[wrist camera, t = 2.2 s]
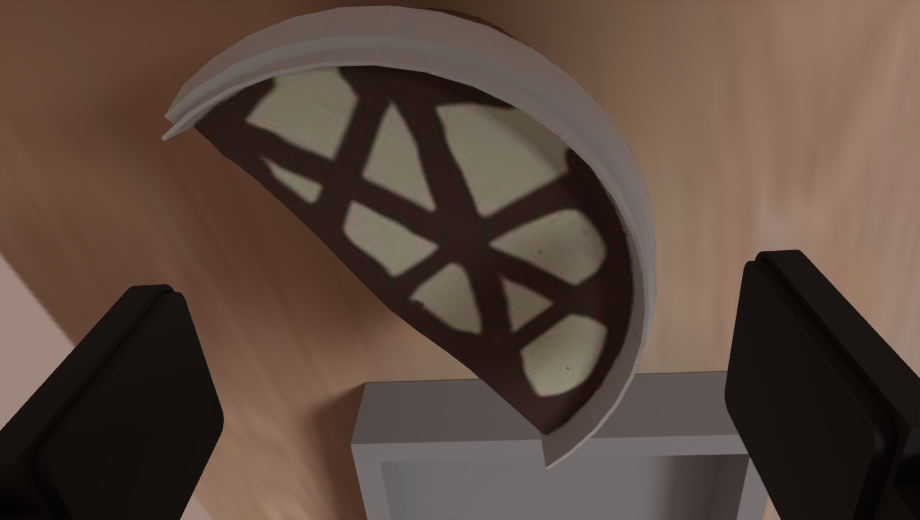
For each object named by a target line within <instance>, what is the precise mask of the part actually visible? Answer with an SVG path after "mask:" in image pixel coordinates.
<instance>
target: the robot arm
mask: <svg viewBox="0 0 920 520" xmlns="http://www.w3.org/2000/svg"><path fill="white" fill-rule="evenodd" d="M724 394H725V404H726V408H727V411H728V413H729V415H730V418H731V420H732V422H733V424H734V426H735V428H736V430H737V432H738V434H739V436H740V438H741V440H742V442H743V444H744V446H745V448H746V450H747V452H748V454H749V456H750V458H751V460H752V462H753V464H754V466H755V468H756V470H757V472H758V474H759V476H760V478H761V480H762V482H763V484H764V486H765V488H766V490H767V492H768V494H769V496H770V498H771V501H772V503H773V505H774V507H775V509H776V511H777V513H778V515H779V517H780V519H781V520H920V378H919V377H918V376H917V375H916V374H915V373H914V372H913V370H912V369H911V368H910V367H909V366H908V365H907V364H906V363H905V362H904V361H903V360H902V359H901V358H900V357H899V355H898V354H897V353H896V352H895V351H894V350H893V349H892V348H891V347H890V346H889V345H888V344H887V343H886V342H885V340H884V339H883V338H882V337H881V336H880V335H879V334H878V333H877V332H876V331H875V330H874V329H873V328H872V327H871V325H870V324H869V323H868V322H867V321H866V320H865V319H864V318H863V317H862V316H861V315H860V314H859V313H858V312H857V310H856V309H855V308H854V307H853V306H852V305H851V304H850V303H849V302H848V301H847V300H846V299H845V298H844V297H843V295H842V294H841V293H840V292H839V291H838V290H837V289H836V288H835V287H834V286H833V285H832V284H831V283H830V281H829V280H828V279H827V278H826V277H825V276H824V275H823V274H822V273H821V272H820V271H819V270H818V269H817V268H816V266H815V265H814V264H813V263H812V262H811V261H810V260H809V259H808V258H807V257H806V256H805V255H804V254H803V253H802V252H801V251H800V250H781V251H763V252H760V253H758V255H757V257H756V258H755V261H748V262H747V263H746V264H745V267H744V271H743V277H742V283H741V290H740V296H739V302H738V308H737V315H736V321H735V327H734V334H733V340H732V346H731V353H730V359H729V365H728V372H727V378H726V384H725V393H724ZM223 423H224V417H223V411H222V408H221V405H220V402H219V399H218V396H217V393H216V390H215V387H214V384H213V381H212V378H211V375H210V372H209V369H208V366H207V363H206V360H205V357H204V354H203V351H202V348H201V345H200V342H199V339H198V336H197V333H196V330H195V327H194V324H193V321H192V318H191V315H190V312H189V309H188V306H187V303H186V300H185V298H184V296H183V295H182V294H181V293H180V292H174V290H173V289H172V287H171V286H169V285H167V284H161V285H143V286H132V287H130V288H129V289H128V290H127V291H126V292H125V293H124V294H123V295H122V296H121V297H120V299H119V300H118V301H117V302H116V303H115V304H114V305H113V306H112V307H111V309H110V310H109V311H108V312H107V313H106V314H105V315H104V316H103V317H102V318H101V320H100V321H99V322H98V323H97V324H96V325H95V326H94V327H93V328H92V330H91V331H90V332H89V333H88V334H87V335H86V336H85V337H84V338H83V340H82V341H81V342H80V343H79V344H78V345H77V346H76V347H75V348H74V350H73V351H72V352H71V353H70V354H69V355H68V356H67V357H66V358H65V360H64V361H63V362H62V363H61V364H60V365H59V366H58V368H56V370H55V371H54V372H53V373H52V374H51V375H50V376H49V377H48V378H47V380H46V381H45V382H44V383H43V384H42V385H41V386H40V387H39V388H38V390H37V391H36V392H35V393H34V394H33V395H32V396H31V397H30V399H28V401H27V402H26V403H25V404H24V405H23V406H22V407H21V408H20V410H19V411H18V412H17V413H16V414H15V415H14V416H13V417H12V418H11V420H10V421H9V422H8V423H7V424H6V425H5V426H4V427H3V428H2V429H1V431H0V520H180V518H181V516H182V514H183V512H184V510H185V508H186V506H187V504H188V502H189V500H190V498H191V496H192V493H193V491H194V489H195V487H196V485H197V483H198V481H199V479H200V477H201V475H202V473H203V471H204V468H205V466H206V464H207V462H208V460H209V458H210V456H211V454H212V452H213V450H214V448H215V446H216V444H217V441H218V439H219V437H220V435H221V433H222V430H223Z"/></svg>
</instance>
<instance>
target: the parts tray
mask: <svg viewBox="0 0 920 520" xmlns="http://www.w3.org/2000/svg"><path fill="white" fill-rule="evenodd" d="M727 372H728V371H726V372H694V373H662V374H635V375H634V378H633V380H632V381H631V383H630V385H629V387H628V389H627V390H626V392H625V394H624V396H623V397H622V399H621V401H620V403H619V405H618V406H617V407H616V409H615V410H614V411H613V412H612V414H611V415H610V416H609V417H608V419H607V420H606V421H605V422H604V424H603V425H602V426H601V427H600V429H599V430H598V431H597V432H596V433H595V434H594V435H593V436H591V437H590V438H589V439H588V440H587V441H586V442H585V443H584V444H583V445H581V446H580V447H579V448H578V449H577V450H576V451H575V452H574V453H572V454H571V455H569V456H568V457H566V458H565V459H563V460H562V461H560V462H559V463H557V464H556V465H554V466H553V467H551V468H550V469H547V468H546V465H545V459H544V453H543V448H542V442H541V436H540V431H539V430H538V429H537V428H536V427H535V426H533V425H532V424H531V423H530V422H529V421H528V420H527V419H526V418H524V417H523V416H522V415H521V414H520V413H519V412H518V411H517V410H516V409H514V408H513V407H512V406H511V405H510V404H509V403H508V402H506V401H505V400H504V399H503V398H502V397H501V396H500V395H498V394H497V393H496V392H495V391H494V390H493V389H492V388H490V387H489V386H488V385H487V384H486V383H485V382H484V381H483V380H481V379H471V380H440V381H408V382H376V383H366V384H365V388H364V392H363V396H362V400H361V404H360V408H359V412H358V416H357V420H356V424H355V428H354V432H353V436H352V440H351V444H350V445H351V449H352V454H353V458H354V462H355V467H356V471H357V476H358V480H359V485H360V489H361V493H362V498H363V502H364V507H365V511H366V516H367V520H762V518H763V514H764V510H765V506H766V502H767V497H768V492H767V490H766V488H765V486H764V484H763V482H762V480H761V478H760V476H759V474H758V472H757V470H756V468H755V466H754V464H753V462H752V460H751V458H750V456H749V454H748V452H747V450H746V448H745V446H744V444H743V442H742V440H741V438H740V436H739V434H738V432H737V430H736V428H735V426H734V424H733V422H732V420H731V418H730V415H729V413H728V411H727V408H726V404H725V394H724V393H725V384H726V378H727Z"/></svg>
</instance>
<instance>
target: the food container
mask: <svg viewBox="0 0 920 520" xmlns="http://www.w3.org/2000/svg"><path fill="white" fill-rule="evenodd" d="M164 117H165V118H166V119H168V120H169V121H170V122H171V123H172V124H174V126H173V127H172V128H171V129H169V130H168V131H167V132H166V133H165V134H164V135H163V136H162V137H161V139H162V140H163V141H166V140H168V139H170V138H172V137H174V136H176V135H178V134H180V133H181V132H183V131H185V130H187V129H189V128H191V127H193V126H194V127H195V128H196V129H197V130H198V131H199V132H200V133H201V134H202V135H203V136H205V137H206V138H207V139H208V140H209V141H210V142H212V144H213V145H214V146H215V147H216V148H217V149H218V150H219V151H220V152H221V153H222V155H224V156H225V157H227V158H228V159H230V160H231V161H233V162H234V163H236V164H237V165H239V166H240V167H241V168H242V169H244V170H245V171H246V172H247V173H249V174H250V175H251V176H252V177H254V178H255V179H256V180H257V181H259V182H260V183H261V184H262V185H263V186H264V187H265V188H266V189H267V190H268V191H270V192H271V193H272V194H273V195H274V196H275V197H276V198H277V199H278V200H280V201H281V202H282V203H283V204H284V205H285V206H286V207H287V208H288V209H289V210H291V211H292V212H293V213H294V214H295V215H296V216H297V217H298V218H299V219H300V220H301V221H302V222H303V223H305V224H306V225H307V226H308V227H309V228H310V229H311V230H312V231H313V232H314V233H315V234H316V235H317V236H318V237H319V238H320V239H321V240H322V241H323V242H324V243H325V244H326V245H327V246H328V247H329V248H330V249H331V250H332V251H333V252H334V253H335V254H336V255H337V257H338V258H339V259H340V260H341V261H342V262H343V263H344V264H345V265H346V266H347V267H348V268H349V269H350V270H351V271H352V272H353V273H354V274H355V275H356V276H357V277H358V278H359V279H360V280H361V281H362V282H363V283H364V284H365V285H366V286H367V287H368V288H369V289H370V290H371V291H372V292H373V293H374V294H375V295H376V296H377V297H378V298H379V299H380V300H381V301H382V302H383V303H384V304H385V305H386V306H387V307H388V308H389V309H390V310H391V311H393V312H394V313H395V314H397V315H398V316H399V317H400V318H402V319H403V320H404V321H406V322H407V323H408V324H409V325H411V326H412V327H413V328H415V329H416V330H417V331H418V332H420V333H421V334H423V335H424V336H425V337H427V338H428V339H430V340H431V341H432V342H434V343H435V344H437V345H438V346H440V347H441V348H442V349H444V350H445V351H447V352H448V353H449V354H450V355H452V356H453V357H454V358H456V359H457V360H458V361H460V362H461V363H462V364H464V365H465V366H466V367H467V368H469V369H470V370H471V371H472V372H473V373H475V374H476V375H477V376H478V377H479V378H480V379H481V380H483V381H484V382H485V383H486V384H487V385H488V386H489V387H490V388H492V389H493V390H494V391H495V392H496V393H497V394H498V395H500V396H501V397H502V398H503V399H504V400H505V401H506V402H508V403H509V404H510V405H511V406H512V407H513V408H514V409H516V410H517V411H518V412H519V413H520V414H521V415H522V416H523V417H524V418H526V419H527V420H528V421H529V422H530V423H531V424H532V425H533V426H535V427H536V428H537V429H538V430H539V431H540V436H541V442H542V448H543V453H544V459H545V465H546V468H547V469H550V468H551V467H553V466H554V465H556V464H557V463H559V462H560V461H562V460H563V459H565V458H566V457H568V456H569V455H571V454H572V453H574V452H575V451H576V450H577V449H578V448H579V447H580V446H581V445H583V444H584V443H585V442H586V441H587V440H588V439H589V438H590V437H591V436H593V435H594V434H595V433H596V432H597V431H598V430H599V429H600V427H601V426H602V425H603V424H604V422H605V421H606V420H607V419H608V417H609V416H610V415H611V414H612V412H613V411H614V410H615V409H616V407H617V406H618V405H619V403H620V401H621V399H622V397H623V396H624V394H625V392H626V390H627V389H628V387H629V385H630V383H631V381H632V380H633V378H634V375H635V372H636V369H637V366H638V364H639V361H640V359H641V356H642V353H643V350H644V347H645V345H646V342H647V339H648V336H649V333H650V330H651V326H652V320H653V313H654V306H655V300H656V249H655V228H654V218H653V213H652V209H651V205H650V201H649V197H648V192H647V188H646V184H645V181H644V179H643V177H642V174H641V172H640V170H639V168H638V165H637V163H636V161H635V159H634V156H633V154H632V152H631V150H630V147H629V145H628V144H627V142H626V141H625V139H624V138H623V136H622V135H621V133H620V132H619V130H618V129H617V128H616V126H615V125H614V123H613V122H612V120H611V119H610V117H609V116H608V114H607V113H606V111H605V110H604V109H603V108H602V107H601V106H600V105H599V104H598V103H597V102H596V101H595V100H594V98H593V97H592V96H591V95H590V94H589V93H588V92H587V91H586V90H585V89H584V88H583V87H582V86H581V85H580V84H579V83H578V82H577V81H576V80H575V79H574V78H573V77H572V76H571V75H569V74H568V73H566V72H565V71H564V70H562V69H561V68H559V67H558V66H557V65H555V64H554V63H553V62H551V61H550V60H548V59H547V58H546V57H544V56H543V55H541V54H540V53H539V52H537V51H536V50H535V49H533V48H531V47H529V46H527V45H525V44H523V43H521V42H519V41H518V40H517V39H515V38H514V37H512V36H511V35H510V34H508V33H507V32H505V31H504V30H503V29H501V28H499V27H497V26H495V25H493V24H491V23H489V22H487V21H485V20H483V19H481V18H478V17H475V16H471V15H468V14H465V13H461V12H458V11H452V10H443V9H434V8H427V9H414V8H406V7H399V6H391V5H386V6H359V7H339V8H334V9H329V10H324V11H320V12H315V13H310V14H305V15H301V16H296V17H292V18H289V19H287V20H284V21H282V22H279V23H277V24H274V25H272V26H269V27H267V28H265V29H262V30H260V31H257V32H255V33H252V34H250V35H248V36H246V37H245V38H243V39H241V40H240V41H238V42H237V43H235V44H234V45H232V46H231V47H229V48H227V49H226V50H224V51H223V52H221V53H220V54H218V55H216V56H215V57H213V58H212V59H210V60H209V61H208V62H207V63H206V64H205V65H204V66H203V67H202V68H201V69H200V70H199V71H198V72H197V73H195V74H194V75H193V76H192V77H191V78H190V79H189V80H188V81H187V82H186V83H185V84H184V85H183V86H182V87H181V89H180V91H179V92H178V94H177V96H176V97H175V99H174V101H173V102H172V104H171V106H170V107H169V109H168V111H167V112H166V114H165V116H164Z"/></svg>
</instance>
